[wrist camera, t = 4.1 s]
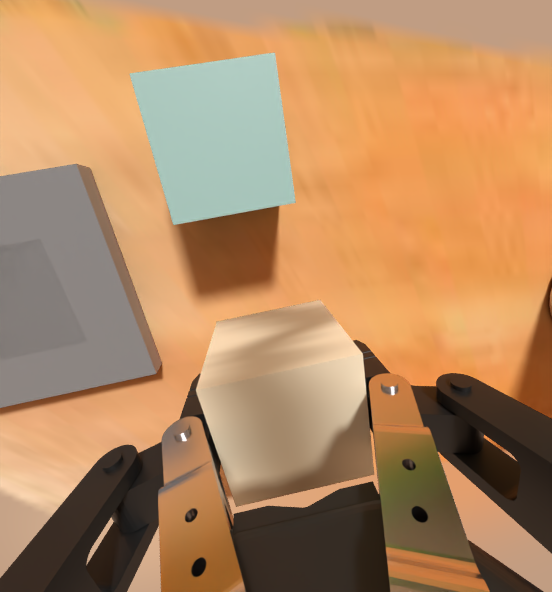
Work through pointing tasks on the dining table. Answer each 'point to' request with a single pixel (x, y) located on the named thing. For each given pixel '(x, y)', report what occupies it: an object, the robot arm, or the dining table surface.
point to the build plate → (64, 291)
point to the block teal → (217, 136)
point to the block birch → (286, 402)
